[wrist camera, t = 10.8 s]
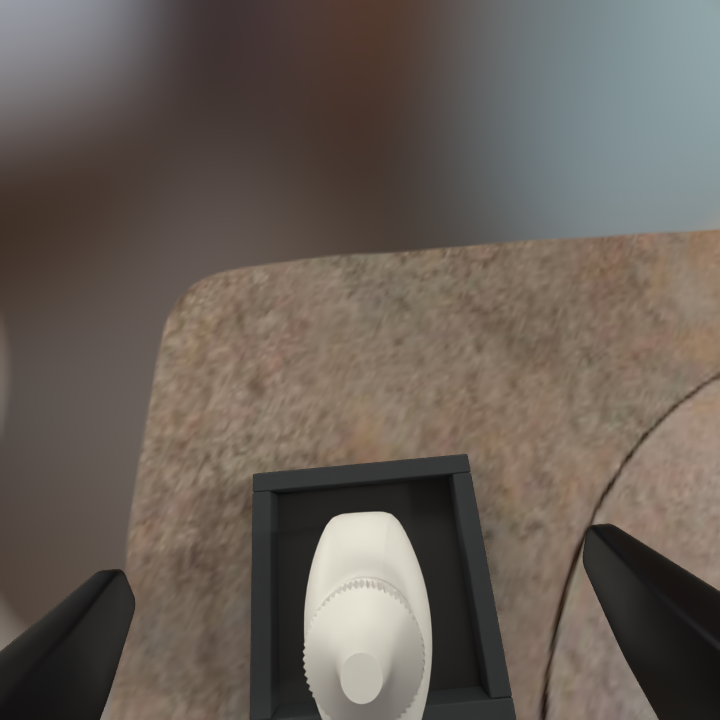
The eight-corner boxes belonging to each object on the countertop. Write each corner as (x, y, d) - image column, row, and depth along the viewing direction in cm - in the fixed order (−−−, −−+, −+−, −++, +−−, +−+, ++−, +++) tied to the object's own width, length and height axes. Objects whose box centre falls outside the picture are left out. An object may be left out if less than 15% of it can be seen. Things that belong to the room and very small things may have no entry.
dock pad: (504, 704, 17) (525, 732, 15) (261, 727, 17) (243, 758, 15) (460, 458, 21) (471, 448, 19) (262, 476, 21) (248, 469, 19)
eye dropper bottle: (442, 548, 18) (542, 571, 7) (390, 687, 17) (418, 1001, 5) (354, 502, 19) (323, 462, 8) (294, 630, 17) (151, 800, 6)
